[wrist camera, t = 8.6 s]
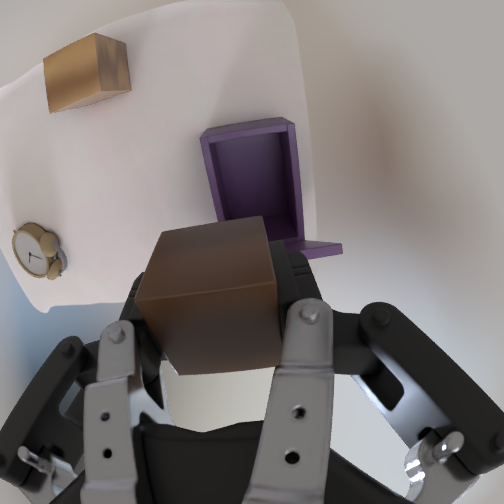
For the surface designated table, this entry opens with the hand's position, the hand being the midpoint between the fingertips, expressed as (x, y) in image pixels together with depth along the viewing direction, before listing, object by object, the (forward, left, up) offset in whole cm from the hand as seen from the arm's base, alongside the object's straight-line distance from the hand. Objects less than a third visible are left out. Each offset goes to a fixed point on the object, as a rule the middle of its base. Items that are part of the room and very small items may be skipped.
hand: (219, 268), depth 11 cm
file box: (0, +6, -30) cm, 31 cm away
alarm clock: (+41, -11, -31) cm, 52 cm away
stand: (+7, -21, -30) cm, 38 cm away
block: (0, 0, 0) cm, 0 cm away
